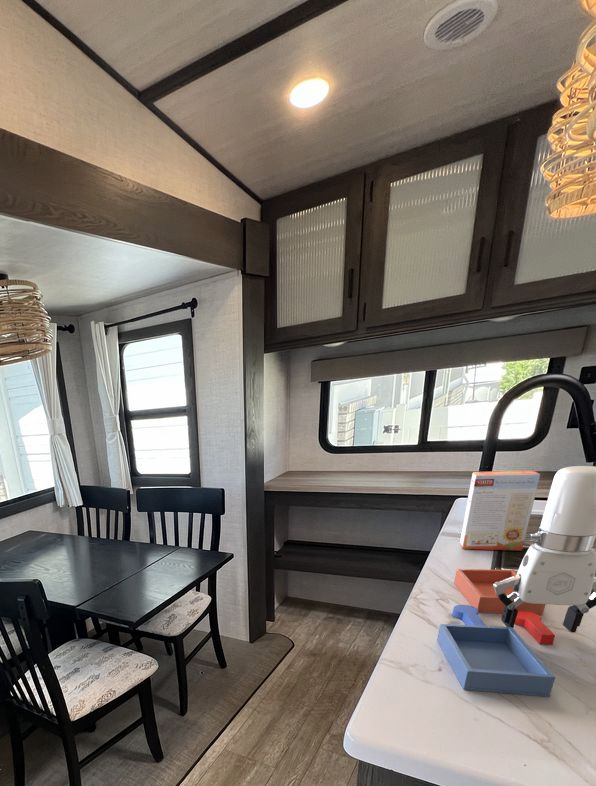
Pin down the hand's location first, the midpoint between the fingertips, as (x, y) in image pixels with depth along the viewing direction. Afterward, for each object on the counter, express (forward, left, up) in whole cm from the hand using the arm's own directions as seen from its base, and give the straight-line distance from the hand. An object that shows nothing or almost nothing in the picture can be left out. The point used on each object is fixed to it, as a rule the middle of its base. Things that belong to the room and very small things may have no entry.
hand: (537, 627), depth 88 cm
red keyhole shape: (0, -2, -2) cm, 3 cm away
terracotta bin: (+1, -17, -2) cm, 18 cm away
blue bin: (+12, +13, -2) cm, 17 cm away
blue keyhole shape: (+10, -4, -2) cm, 11 cm away
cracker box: (-9, -53, -2) cm, 54 cm away
